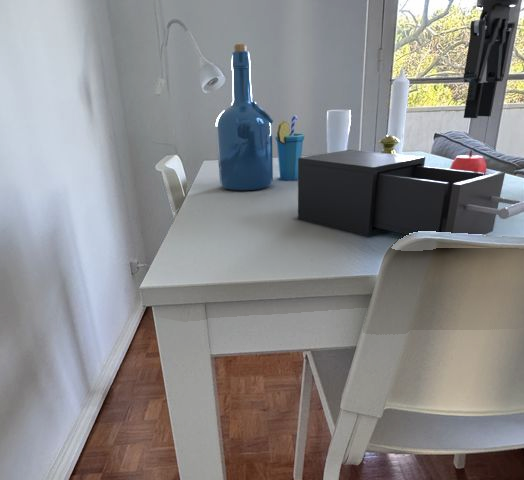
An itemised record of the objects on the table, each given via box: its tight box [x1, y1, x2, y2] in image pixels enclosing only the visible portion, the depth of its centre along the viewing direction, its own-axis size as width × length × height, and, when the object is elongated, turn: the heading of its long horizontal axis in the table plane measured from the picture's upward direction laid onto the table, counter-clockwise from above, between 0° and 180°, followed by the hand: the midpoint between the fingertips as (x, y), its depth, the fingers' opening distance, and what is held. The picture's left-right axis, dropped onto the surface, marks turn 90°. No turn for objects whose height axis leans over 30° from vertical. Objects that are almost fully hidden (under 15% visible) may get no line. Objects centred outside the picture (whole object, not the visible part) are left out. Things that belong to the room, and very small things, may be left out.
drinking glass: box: [325, 109, 351, 153], centre depth 138 cm, size 7×7×15 cm
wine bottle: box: [215, 43, 275, 192], centre depth 110 cm, size 14×13×30 cm
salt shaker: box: [378, 134, 399, 154], centre depth 120 cm, size 7×7×10 cm
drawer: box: [372, 165, 524, 235], centre depth 72 cm, size 22×13×9 cm, turn 40°
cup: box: [274, 114, 305, 181], centre depth 123 cm, size 14×8×15 cm, turn 163°
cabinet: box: [297, 149, 426, 237], centre depth 84 cm, size 17×14×11 cm
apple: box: [449, 149, 487, 173], centre depth 107 cm, size 8×8×8 cm
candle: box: [387, 66, 411, 155], centre depth 132 cm, size 7×7×25 cm
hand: (477, 116), depth 102 cm, fingers open, 5 cm apart
